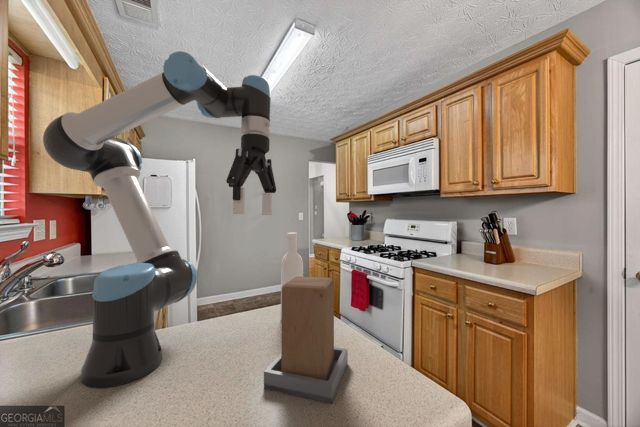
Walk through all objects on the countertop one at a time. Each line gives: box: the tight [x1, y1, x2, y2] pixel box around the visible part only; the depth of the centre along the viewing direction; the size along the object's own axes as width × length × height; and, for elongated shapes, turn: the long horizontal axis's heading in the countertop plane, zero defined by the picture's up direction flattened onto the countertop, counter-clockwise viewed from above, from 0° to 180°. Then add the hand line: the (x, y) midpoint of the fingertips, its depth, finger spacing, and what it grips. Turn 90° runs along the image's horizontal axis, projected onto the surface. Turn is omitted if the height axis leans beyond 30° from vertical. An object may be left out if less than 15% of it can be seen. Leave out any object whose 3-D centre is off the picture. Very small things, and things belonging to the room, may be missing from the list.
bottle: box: [280, 232, 304, 321], centre depth 93 cm, size 8×8×30 cm
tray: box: [263, 346, 349, 404], centre depth 59 cm, size 14×14×4 cm
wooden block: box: [280, 276, 335, 381], centre depth 60 cm, size 10×10×20 cm
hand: (253, 214), depth 72 cm, fingers open, 13 cm apart
